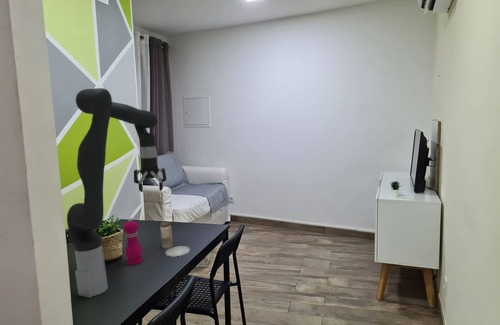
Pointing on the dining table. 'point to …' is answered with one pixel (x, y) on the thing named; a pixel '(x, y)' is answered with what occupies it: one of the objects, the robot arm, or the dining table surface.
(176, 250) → the tile
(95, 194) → the robot arm
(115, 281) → the dining table surface
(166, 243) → the salt shaker
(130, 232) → the pepper mill
